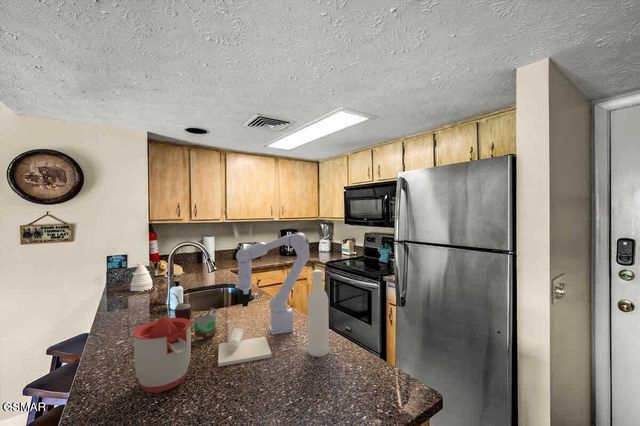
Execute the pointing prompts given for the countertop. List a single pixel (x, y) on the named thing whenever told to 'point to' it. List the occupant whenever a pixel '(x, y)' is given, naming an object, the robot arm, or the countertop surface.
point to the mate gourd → (182, 310)
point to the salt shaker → (234, 338)
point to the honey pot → (141, 279)
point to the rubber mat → (244, 351)
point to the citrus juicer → (162, 353)
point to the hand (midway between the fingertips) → (245, 306)
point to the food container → (205, 325)
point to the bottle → (318, 318)
